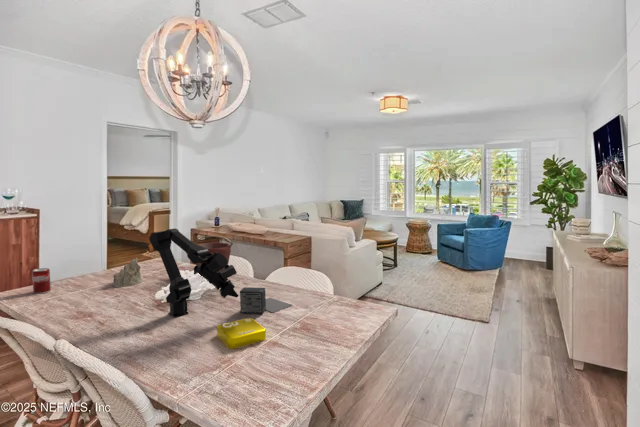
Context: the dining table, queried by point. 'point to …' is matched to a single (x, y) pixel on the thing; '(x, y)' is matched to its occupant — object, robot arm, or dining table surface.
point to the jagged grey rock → (128, 275)
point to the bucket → (217, 248)
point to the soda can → (41, 280)
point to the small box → (252, 300)
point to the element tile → (241, 333)
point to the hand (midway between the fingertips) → (237, 296)
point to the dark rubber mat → (275, 305)
